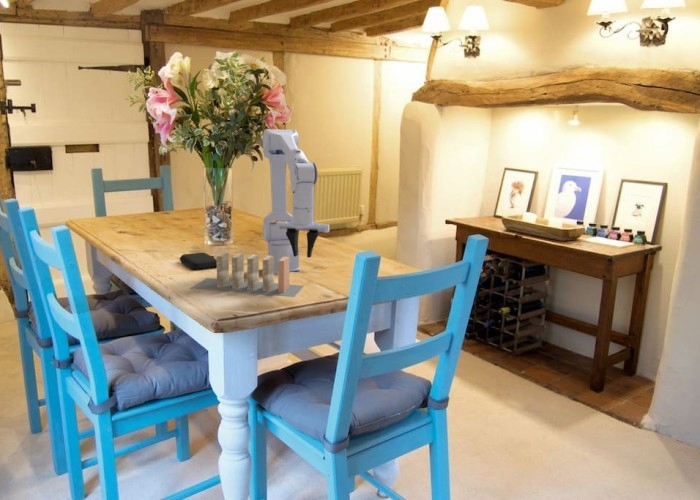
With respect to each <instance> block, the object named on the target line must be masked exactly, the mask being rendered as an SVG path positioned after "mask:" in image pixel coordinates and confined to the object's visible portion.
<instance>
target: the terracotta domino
mask: <svg viewBox="0 0 700 500" xmlns="http://www.w3.org/2000/svg"><path fill="white" fill-rule="evenodd" d="M277 275H278V277H277V279H278V280H277V282H278V283H277V284H278V292H283V293H284V292H285V291H286V290H287V289H288V288H289V284H290V272H289V257H283V258H281V259H280V260H279V261H278V273H277Z"/></svg>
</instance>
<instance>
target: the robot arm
mask: <svg viewBox="0 0 700 500" xmlns="http://www.w3.org/2000/svg"><path fill="white" fill-rule="evenodd" d="M298 147H299V134H298V131H297V130H296V129H272V128H271V129H268V128H265V130H264V131H263V134H262V153H263V156H264V157H265V158H267V159H268V161H269V170H270V171H269V172H270V193H271V194H270V196H271V197H270V198H271V211H270V212H269V213H267V215H266V216H265V217H264V218H263V220H262V221H263V222H262V237H263V240H264V242H265V243H268V244H267V256H274V275H276V274H277V275H278V261H279V260H280V259H281V258H283V257H289V273H290V272H297V271H301V268H300V249H299V248H300V247H299V235H300V231H304V232H307V233H306V241H307V242H306V243H307V249H306V257H307V258H311V257H312V254H313V250H314V245H315V243H316V240H317V238H318V236H319V234H320V232H323V233H327V234H328V233H329V232H330V223H329V224H328V223H327V224H326V223H321V222H320V223H319V222H314V216H315V215H314V212H315V211H314V210H315V209H314V208H315V207H314V206H315V205H314V204H315V202H314V200H315V197H314V195H315V184H316V183H317V181H318V167H317V165H316V163H315V162H312V161H309V160H308V157H306V156H307V155H305V152H304V151H302V149H300V148H298ZM286 166H287V168H288V170H289V178H290V189H291V191H292V214H291V213H289V212H288V209H287V208H288V206H287V205H288V203H287V180H286V179H287V177H286V173H287V172H286Z"/></svg>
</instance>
